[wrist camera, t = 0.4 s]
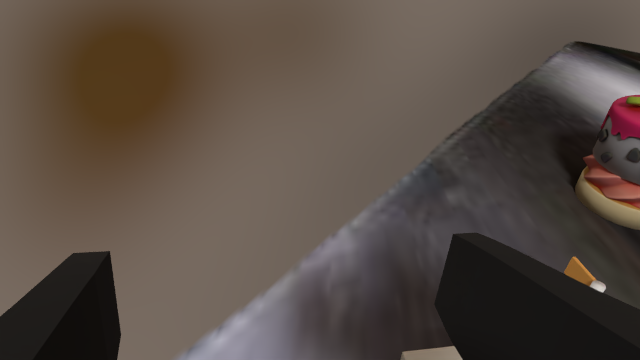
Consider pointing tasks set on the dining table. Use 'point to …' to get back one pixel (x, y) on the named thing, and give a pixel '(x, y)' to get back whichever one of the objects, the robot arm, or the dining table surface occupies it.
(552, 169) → the dining table surface
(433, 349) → the corral
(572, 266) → the flag
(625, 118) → the cake
